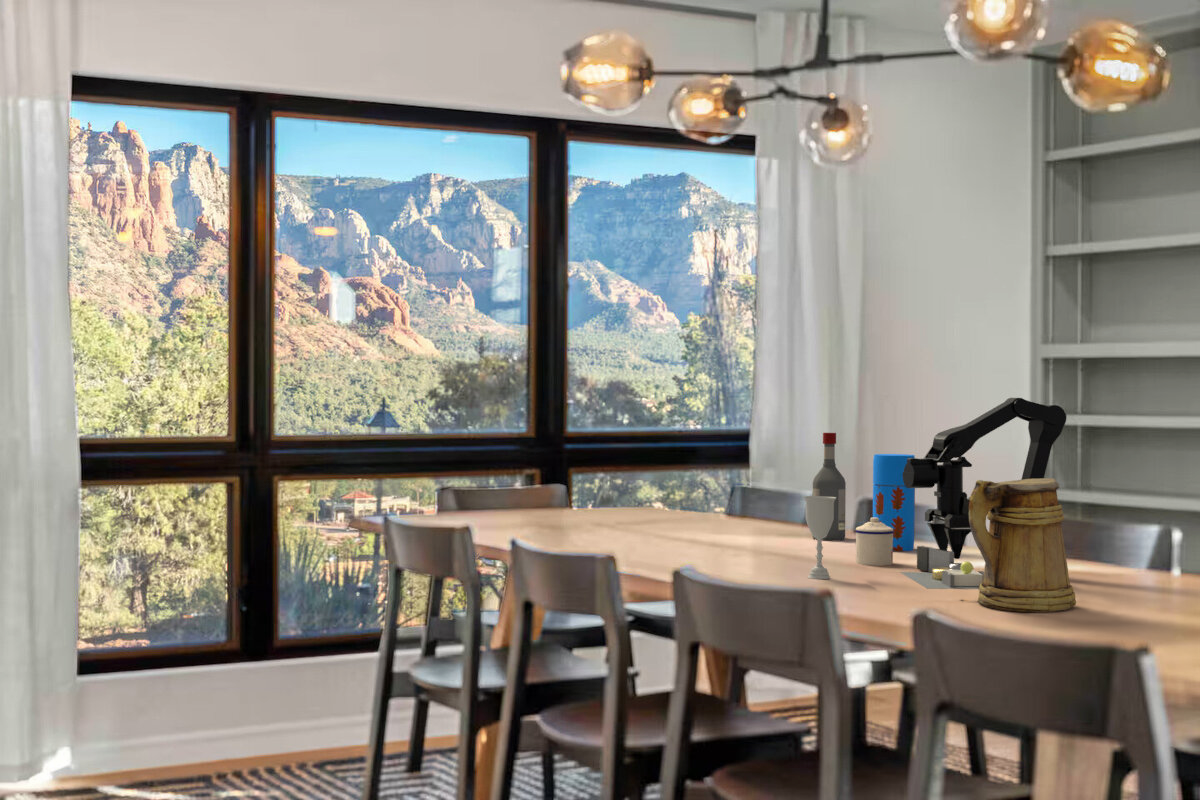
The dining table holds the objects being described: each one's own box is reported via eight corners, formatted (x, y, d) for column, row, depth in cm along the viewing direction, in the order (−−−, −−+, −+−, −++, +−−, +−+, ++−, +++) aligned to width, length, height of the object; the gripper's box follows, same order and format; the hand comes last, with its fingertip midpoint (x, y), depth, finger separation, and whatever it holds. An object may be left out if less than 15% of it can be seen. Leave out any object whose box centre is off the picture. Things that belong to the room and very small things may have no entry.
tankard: (1096, 609, 272) (1097, 480, 272) (1006, 618, 261) (1007, 483, 260) (1026, 596, 288) (1027, 474, 288) (938, 604, 276) (939, 477, 276)
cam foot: (972, 580, 305) (972, 557, 305) (982, 586, 297) (982, 562, 297) (944, 580, 305) (944, 557, 305) (954, 585, 297) (954, 562, 297)
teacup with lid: (901, 568, 333) (901, 519, 333) (866, 569, 330) (867, 519, 330) (875, 562, 344) (875, 514, 344) (842, 563, 341) (842, 515, 341)
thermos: (918, 551, 368) (918, 456, 368) (876, 551, 368) (877, 455, 368) (909, 546, 379) (910, 454, 378) (869, 546, 379) (870, 453, 379)
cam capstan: (928, 569, 324) (928, 545, 324) (978, 579, 307) (979, 554, 307) (895, 570, 321) (896, 547, 321) (944, 581, 304) (945, 556, 304)
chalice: (839, 576, 317) (839, 496, 317) (831, 580, 310) (831, 498, 310) (807, 574, 320) (808, 495, 320) (798, 578, 314) (799, 497, 313)
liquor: (812, 540, 394) (813, 433, 394) (812, 536, 403) (813, 432, 403) (845, 540, 393) (846, 433, 393) (844, 537, 402) (845, 432, 402)
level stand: (996, 576, 319) (997, 560, 319) (1032, 592, 293) (1032, 575, 293) (900, 575, 319) (900, 559, 319) (927, 592, 293) (927, 574, 293)
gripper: (999, 489, 309) (1000, 560, 309) (970, 484, 328) (971, 551, 328) (949, 490, 308) (950, 561, 308) (923, 484, 327) (924, 552, 327)
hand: (950, 556), depth 318 cm, fingers open, 9 cm apart
